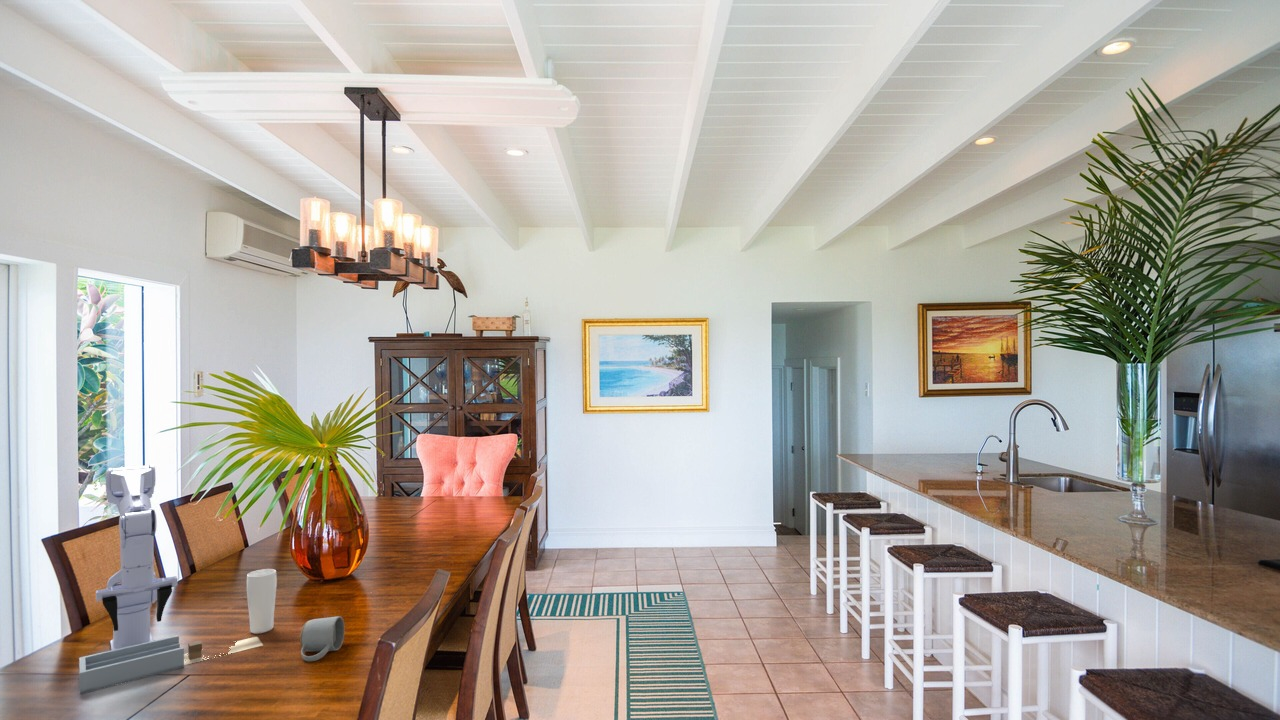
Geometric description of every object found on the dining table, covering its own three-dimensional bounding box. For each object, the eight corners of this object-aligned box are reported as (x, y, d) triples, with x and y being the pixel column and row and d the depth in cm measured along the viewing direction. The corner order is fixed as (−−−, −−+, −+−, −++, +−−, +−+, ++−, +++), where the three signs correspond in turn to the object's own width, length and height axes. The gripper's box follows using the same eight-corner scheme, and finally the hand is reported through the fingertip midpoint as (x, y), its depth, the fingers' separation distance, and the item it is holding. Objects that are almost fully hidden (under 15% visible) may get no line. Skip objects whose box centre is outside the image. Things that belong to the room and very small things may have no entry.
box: (79, 677, 143) (79, 657, 143) (178, 653, 155) (178, 634, 155) (79, 694, 136) (79, 673, 136) (183, 667, 148) (183, 648, 148)
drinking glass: (243, 630, 169) (243, 572, 169) (272, 623, 173) (272, 567, 173) (250, 638, 164) (250, 578, 164) (280, 630, 168) (279, 572, 169)
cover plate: (180, 657, 154) (180, 641, 154) (256, 638, 165) (256, 623, 165) (184, 667, 149) (184, 651, 149) (263, 647, 159) (263, 632, 159)
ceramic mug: (311, 643, 160) (310, 612, 160) (345, 642, 161) (345, 611, 161) (291, 664, 149) (291, 630, 149) (328, 662, 150) (328, 629, 150)
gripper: (96, 575, 139) (96, 639, 138) (179, 561, 148) (179, 621, 148) (95, 568, 144) (95, 629, 144) (175, 555, 153) (175, 612, 153)
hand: (137, 624), depth 146 cm, fingers open, 7 cm apart
